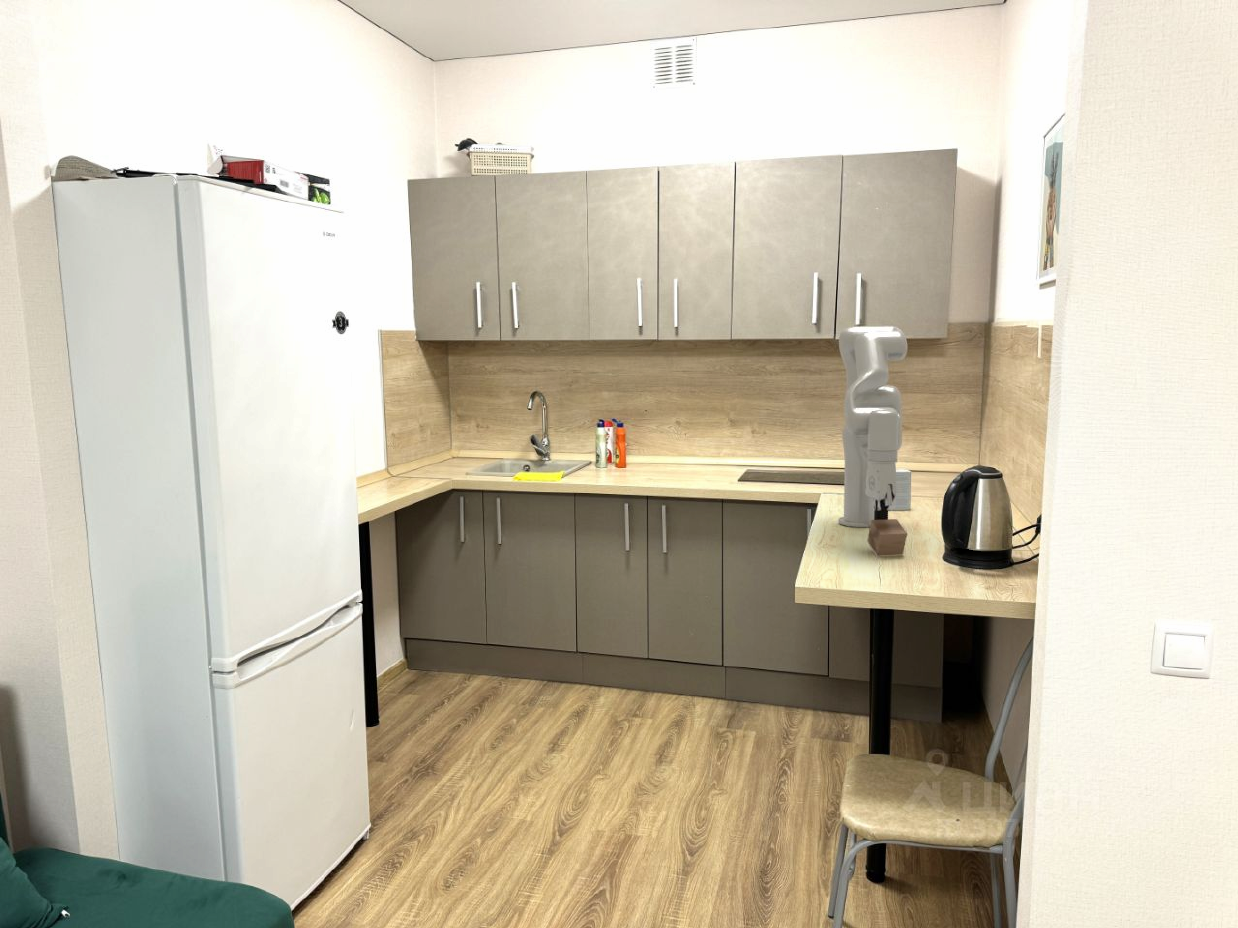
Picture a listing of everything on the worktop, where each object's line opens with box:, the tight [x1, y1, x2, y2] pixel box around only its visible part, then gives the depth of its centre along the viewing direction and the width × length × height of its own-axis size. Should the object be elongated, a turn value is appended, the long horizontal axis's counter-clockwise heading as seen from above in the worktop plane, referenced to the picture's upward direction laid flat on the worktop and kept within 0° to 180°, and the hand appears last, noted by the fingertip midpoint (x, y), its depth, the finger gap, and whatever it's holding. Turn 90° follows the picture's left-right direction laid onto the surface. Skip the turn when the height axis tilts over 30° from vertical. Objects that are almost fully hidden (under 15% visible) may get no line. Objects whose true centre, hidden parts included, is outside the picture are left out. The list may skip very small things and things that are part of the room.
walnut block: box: [866, 518, 908, 557], centre depth 232 cm, size 7×7×7 cm
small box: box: [888, 468, 912, 511], centre depth 293 cm, size 8×6×13 cm
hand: (880, 524), depth 235 cm, fingers closed
